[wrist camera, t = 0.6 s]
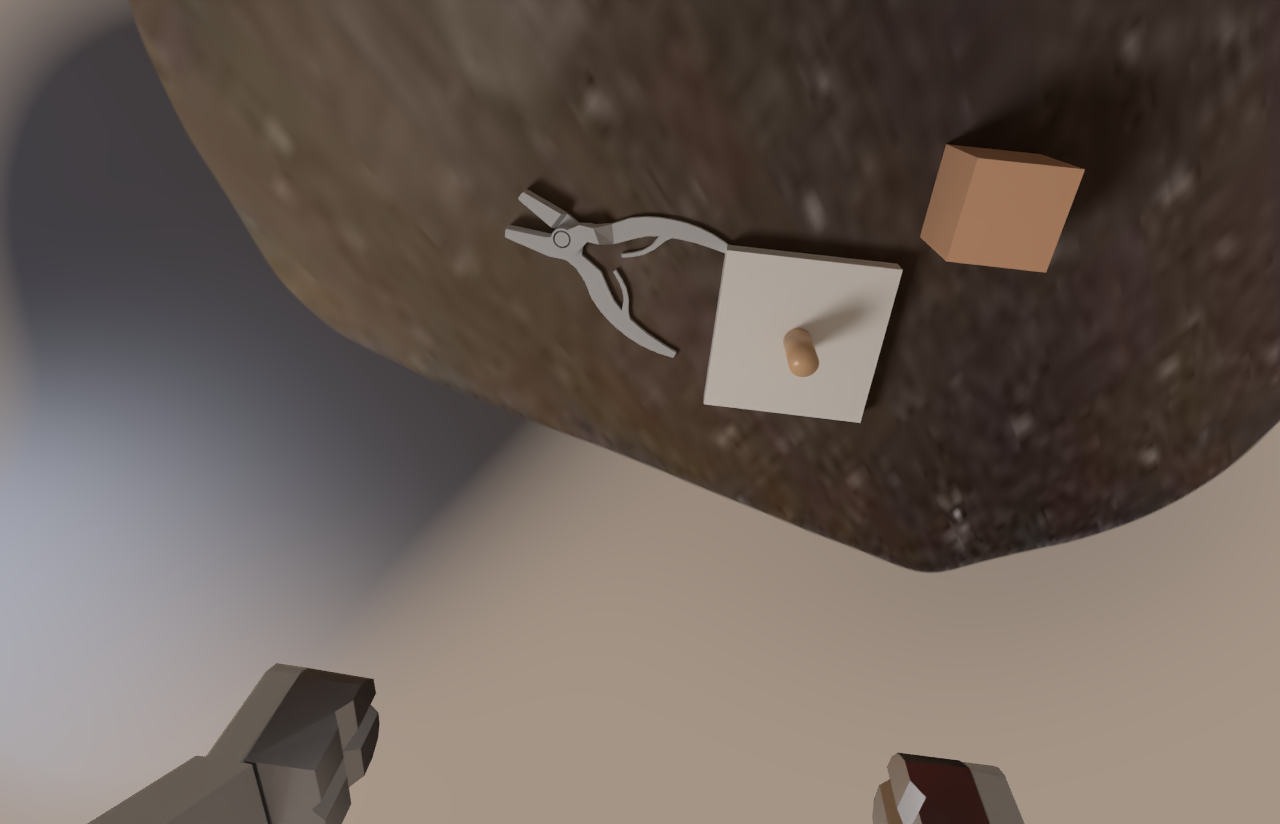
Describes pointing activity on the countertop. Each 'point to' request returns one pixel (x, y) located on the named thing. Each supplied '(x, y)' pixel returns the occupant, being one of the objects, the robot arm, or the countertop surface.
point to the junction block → (798, 332)
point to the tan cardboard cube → (999, 207)
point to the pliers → (575, 235)
